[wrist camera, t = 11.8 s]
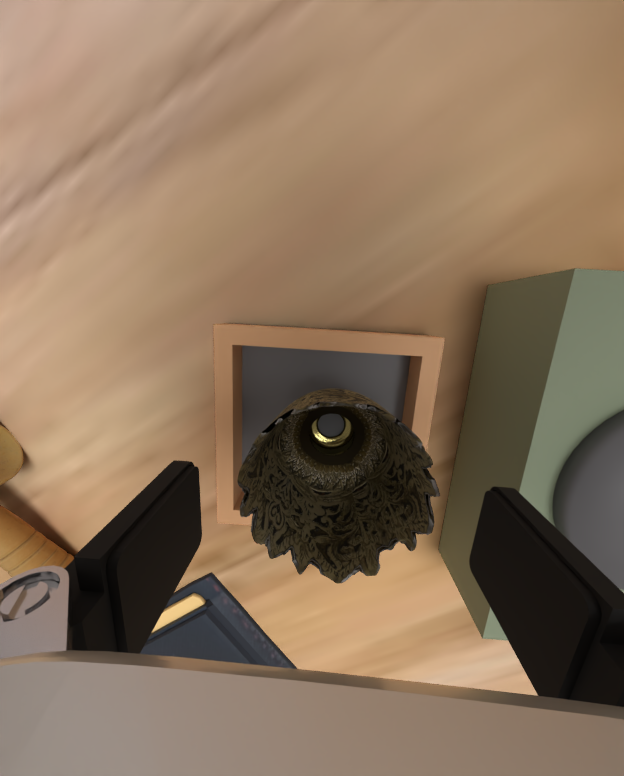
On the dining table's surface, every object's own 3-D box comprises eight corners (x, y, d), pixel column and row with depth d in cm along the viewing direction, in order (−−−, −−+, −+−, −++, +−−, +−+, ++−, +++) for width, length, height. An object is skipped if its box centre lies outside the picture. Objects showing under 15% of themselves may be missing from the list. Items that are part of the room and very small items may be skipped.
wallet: (134, 792, 27) (14, 684, 24) (146, 762, 29) (36, 658, 26) (322, 717, 24) (210, 583, 21) (322, 688, 26) (219, 562, 23)
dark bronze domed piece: (316, 497, 20) (312, 612, 12) (248, 410, 19) (195, 477, 11) (413, 438, 19) (478, 525, 11) (347, 341, 17) (368, 361, 10)
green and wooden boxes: (228, 270, 17) (166, 240, 10) (702, 297, 17) (964, 283, 10) (230, 534, 21) (187, 635, 15) (608, 562, 21) (747, 680, 14)
